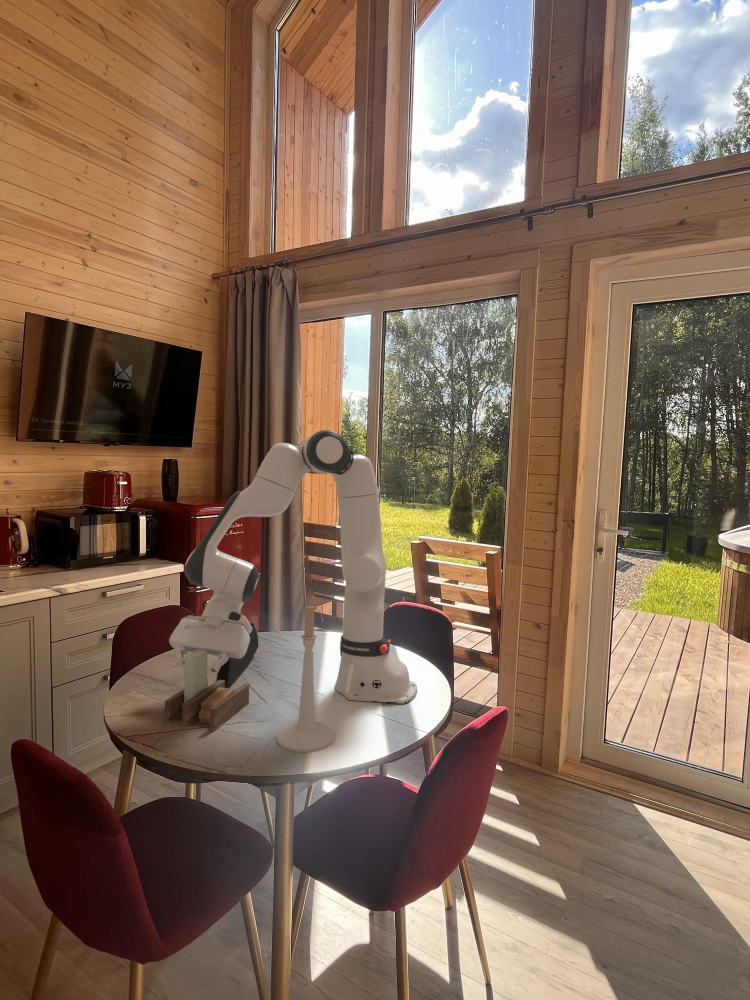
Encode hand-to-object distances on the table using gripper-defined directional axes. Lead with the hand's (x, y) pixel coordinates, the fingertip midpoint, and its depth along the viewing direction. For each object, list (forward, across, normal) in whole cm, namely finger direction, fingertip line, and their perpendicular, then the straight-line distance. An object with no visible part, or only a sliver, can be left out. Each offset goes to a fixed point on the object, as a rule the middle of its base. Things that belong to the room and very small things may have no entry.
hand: (196, 668), depth 139 cm
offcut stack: (+8, +6, +7) cm, 12 cm away
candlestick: (+10, +31, +4) cm, 33 cm away
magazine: (-12, -3, +27) cm, 29 cm away
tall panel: (+8, 0, +7) cm, 10 cm away
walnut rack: (+8, +4, +7) cm, 11 cm away
